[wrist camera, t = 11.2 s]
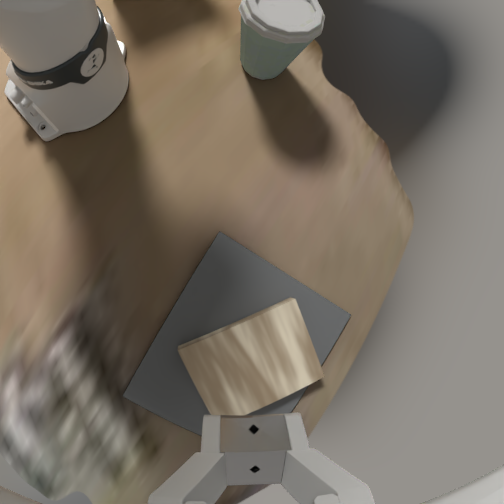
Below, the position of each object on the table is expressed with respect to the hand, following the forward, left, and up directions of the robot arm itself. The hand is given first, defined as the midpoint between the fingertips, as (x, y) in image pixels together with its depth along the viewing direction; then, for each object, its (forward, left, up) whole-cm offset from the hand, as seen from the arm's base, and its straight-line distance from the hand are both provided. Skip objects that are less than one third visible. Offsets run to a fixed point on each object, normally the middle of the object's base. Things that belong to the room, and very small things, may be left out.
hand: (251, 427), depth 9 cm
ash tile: (+5, -10, -30) cm, 32 cm away
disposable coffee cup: (-12, +34, -32) cm, 48 cm away
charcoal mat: (+8, -4, -32) cm, 33 cm away
